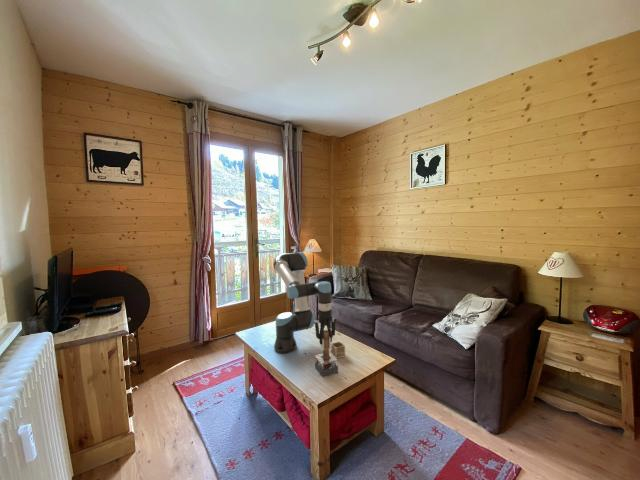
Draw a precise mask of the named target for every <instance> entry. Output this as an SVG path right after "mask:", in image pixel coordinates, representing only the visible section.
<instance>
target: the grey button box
mask: <svg viewBox="0 0 640 480" xmlns="http://www.w3.org/2000/svg"><path fill="white" fill-rule="evenodd" d="M314 357H315V361H314V369H315V370H316V371H317V373H318V375H319V376H321V378H325V377H328V376H331V375H335V374H338V373H339V368H338V367H339V366H338V364H337V362H338V358H336V357H335V356H334V355H333V354H332V353H331V351H329V360H325V361H324V360H323V353H320V354H315V355H314ZM328 363H329V365H328V366H324V364H328Z"/></svg>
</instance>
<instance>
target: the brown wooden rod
mask: <svg viewBox="0 0 640 480" xmlns="http://www.w3.org/2000/svg"><path fill="white" fill-rule="evenodd" d="M323 339H324V350H322V354H323V357H322V359H323V360H324V361H325V360H329V352H330V349H329V331H328V330H326V329H324V332H323Z"/></svg>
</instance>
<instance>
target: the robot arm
mask: <svg viewBox="0 0 640 480" xmlns="http://www.w3.org/2000/svg"><path fill="white" fill-rule="evenodd" d="M308 263H309V262H308V258H307V256H306V254H305V253H304V252H301V251H296V252H295V251H294V252H287V253H281V254H279V255H278V256H276V257H275V259H274V261H273V269H274V271H275V273H277V274H278V275H279V277H280V278H281V280H282V281H283V283H284V284H285V286H286V295H287V298H288V299H289V300H290V299H291V300H292V299H294V304H295V309H294V311H293V312H290V311H286V312H282V313H280V314H278V315H277V316H276V317H275V332H276V333H275V334H276V337H275V340H274V346H273V350H274V352H276V353H278V354H289V353H292V352H294V351H295V350H296V349H297V346H298V345H297V341H296V338H295V336H294V335H295V332H300V331H303V330H308V329H312V328H313V327H314V328H315V338H316V339H317V340H319V341H318V342H319V344H320V349H321V350H322V351H323V350H324V339H323V332H324V330H325V328H327V330H328V331H329V350H331V343H333V337H334V336H335V335H336V323H337V319H336V317H333V316H332V315H333V312H332V311H333V310H332V284H331V282H330V281H327V280H325V281H318V280H311V281H310V282H307V283H306V281H305V271H306V269H307V267H308ZM311 296H316V297H317V299H318V300H317V306H318V310H317V311H318V313H317V314H318V318H317V320H315V319H316V318H315V317H316V316H315V314H314V313H315V312H314V311H313V310H311V308H310V307H309V305H308V297H311ZM325 326H326V327H325Z"/></svg>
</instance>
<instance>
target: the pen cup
mask: <svg viewBox="0 0 640 480" xmlns="http://www.w3.org/2000/svg"><path fill="white" fill-rule="evenodd" d="M330 352H331V353H332V354H333V355H334V356H335V357H336V359H340V358H343V357H346V345H345V344H344V343H343V342H342V341H337V342H331V349H330Z"/></svg>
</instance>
